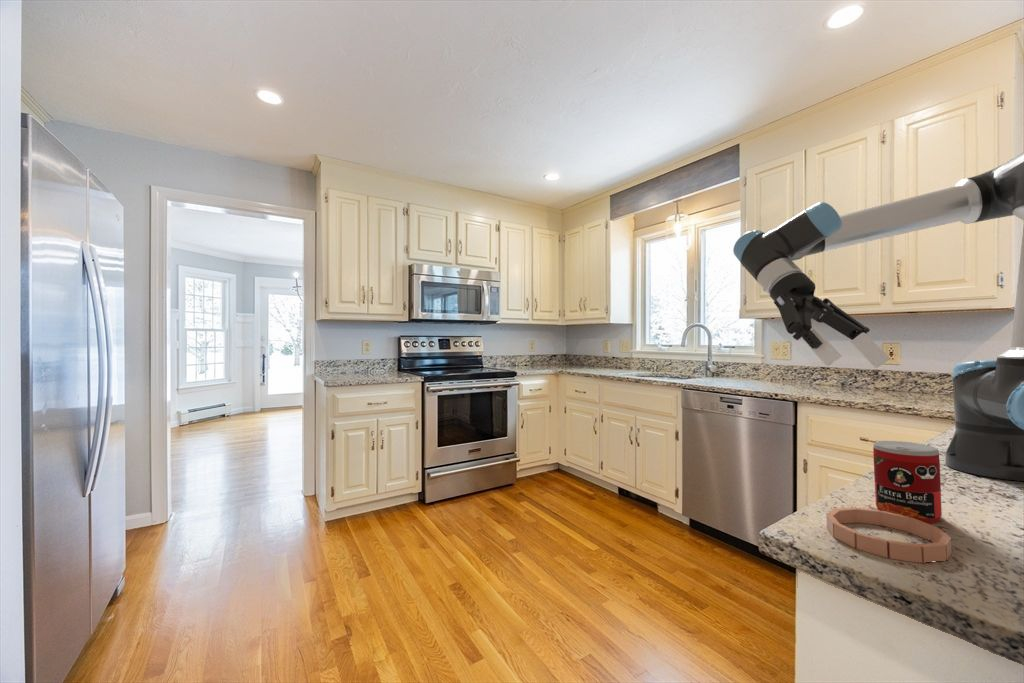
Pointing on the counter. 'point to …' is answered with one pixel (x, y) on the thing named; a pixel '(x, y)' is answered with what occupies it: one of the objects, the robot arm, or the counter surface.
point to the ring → (886, 548)
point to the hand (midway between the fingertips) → (859, 362)
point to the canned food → (908, 479)
